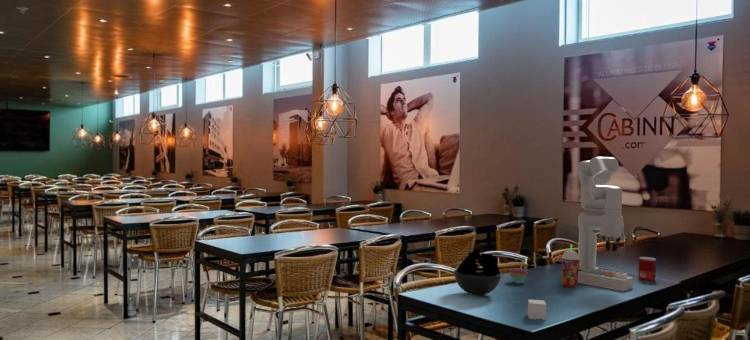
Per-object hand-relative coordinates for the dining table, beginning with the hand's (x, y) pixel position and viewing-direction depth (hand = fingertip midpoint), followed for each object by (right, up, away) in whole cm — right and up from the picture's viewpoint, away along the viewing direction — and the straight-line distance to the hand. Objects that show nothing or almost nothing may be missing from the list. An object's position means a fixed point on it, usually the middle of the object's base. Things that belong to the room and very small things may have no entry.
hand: (611, 250), depth 282 cm
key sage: (-8, -14, +8) cm, 18 cm away
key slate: (-4, -14, +4) cm, 15 cm away
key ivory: (+3, -14, -3) cm, 15 cm away
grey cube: (-53, -17, -61) cm, 82 cm away
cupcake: (-45, -16, +1) cm, 47 cm away
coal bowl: (-69, -16, -28) cm, 76 cm away
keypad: (-3, -17, +2) cm, 17 cm away
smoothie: (-21, -17, -3) cm, 27 cm away
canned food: (+26, -18, +20) cm, 38 cm away
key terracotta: (0, -14, 0) cm, 14 cm away
